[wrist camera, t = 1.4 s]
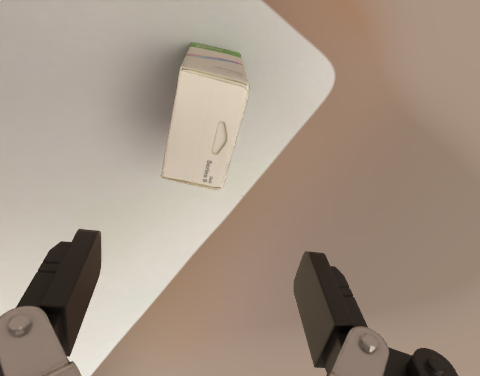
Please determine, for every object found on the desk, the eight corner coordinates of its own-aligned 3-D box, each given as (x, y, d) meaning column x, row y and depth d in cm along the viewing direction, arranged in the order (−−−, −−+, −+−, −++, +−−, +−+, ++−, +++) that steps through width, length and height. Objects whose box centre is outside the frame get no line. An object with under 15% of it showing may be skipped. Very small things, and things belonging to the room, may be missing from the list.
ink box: (222, 135, 37) (227, 194, 27) (173, 125, 36) (159, 182, 26) (242, 52, 33) (257, 84, 23) (187, 38, 32) (178, 66, 22)
